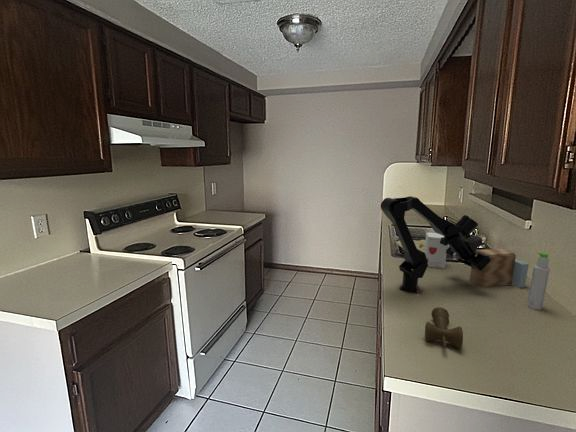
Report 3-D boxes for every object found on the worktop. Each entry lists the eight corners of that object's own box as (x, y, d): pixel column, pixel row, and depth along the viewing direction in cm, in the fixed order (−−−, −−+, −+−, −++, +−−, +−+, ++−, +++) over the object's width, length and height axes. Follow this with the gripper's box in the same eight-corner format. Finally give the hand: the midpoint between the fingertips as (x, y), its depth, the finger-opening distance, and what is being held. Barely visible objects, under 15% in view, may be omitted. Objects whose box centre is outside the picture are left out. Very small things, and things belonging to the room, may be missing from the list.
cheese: (435, 261, 165) (419, 238, 174) (438, 255, 159) (422, 231, 168) (407, 271, 164) (393, 247, 173) (410, 264, 158) (395, 240, 167)
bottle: (526, 302, 117) (536, 250, 113) (541, 306, 114) (551, 253, 110) (526, 307, 113) (536, 253, 109) (542, 311, 111) (553, 256, 107)
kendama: (455, 325, 102) (464, 360, 84) (423, 319, 106) (424, 352, 87) (457, 307, 101) (466, 339, 83) (424, 302, 105) (426, 332, 86)
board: (518, 287, 130) (522, 264, 128) (490, 274, 143) (493, 253, 141) (524, 287, 130) (528, 264, 128) (496, 274, 144) (499, 253, 142)
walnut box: (482, 286, 130) (487, 255, 127) (469, 280, 137) (473, 249, 134) (511, 284, 133) (516, 253, 130) (497, 277, 140) (501, 248, 137)
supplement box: (424, 266, 152) (427, 236, 149) (422, 260, 160) (425, 231, 157) (445, 269, 149) (449, 238, 146) (442, 262, 158) (445, 233, 155)
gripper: (490, 236, 119) (510, 262, 123) (455, 224, 137) (473, 248, 141) (469, 257, 119) (490, 282, 123) (436, 243, 137) (456, 265, 141)
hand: (477, 268), depth 132 cm, fingers closed, pressing on walnut box
